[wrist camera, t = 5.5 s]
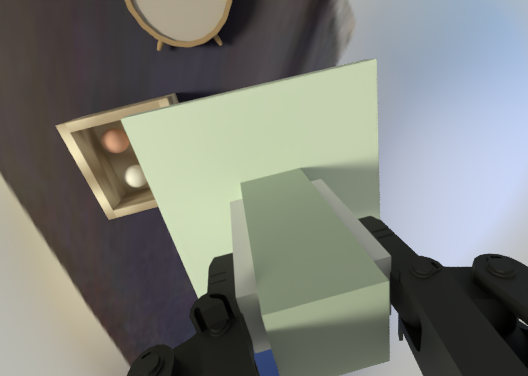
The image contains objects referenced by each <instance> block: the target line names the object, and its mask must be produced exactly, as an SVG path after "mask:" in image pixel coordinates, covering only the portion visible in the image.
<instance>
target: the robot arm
mask: <svg viewBox="0 0 528 376" xmlns="http://www.w3.org/2000/svg"><path fill="white" fill-rule="evenodd" d="M310 182H311V183H312V184H313V185H314V187H315V188H316V189H317V190H318V192H319V193H320V194H321V196H322V197H323V198H324V199H325V201H326V202H327V203H328V204H329V206H330V207H331V208H332V209H333V211H334V212H335V213H336V214H337V216H338V217H339V218H340V219H341V221H342V222H343V223H344V225H345V226H346V227H347V228H348V230H349V231H350V232H351V233H352V235H353V236H354V237H355V238H356V240H357V241H358V242H359V243H360V245H361V246H362V247H363V249H364V250H365V251H366V252H367V254H368V255H369V256H370V257H371V259H372V260H373V261H374V262H375V264H376V265H377V266H378V267H379V269H380V270H381V271H382V272H383V274H384V275H385V276H386V278H387V279H388V280H389V315H391V304H392V305H393V307H394V308H395V310H396V311H397V312H398V319H399V320H398V335H399V340H400V341H402V340H403V334H404V336H405V338H406V340H407V342H408V345H409V347H410V349H411V351H412V353H413V355H414V357H415V359H416V361H417V363H418V365H419V368H420V370H421V372H422V374H423V376H528V326H526V325H525V324H523V323H522V322H520V321H519V319H521V320H522V321H524V322H525V323H526V324H527V325H528V267H527V266H526V265H524V264H522V263H521V262H519V261H517V260H514V259H512V258H510V257H507V256H502V255H499V254H483V255H479V256H478V257H476V258H475V259H474V261H473V265H472V267H444V266H442V265H441V264H440V263H439V262H438V261H435V260H433V259H431V258H428V257H424V256H418V255H417V254H416V253H415V252H414V251H413V250H412V249H411V248H410V247H409V246H408V245H407V244H405V243H404V242H403V241H402V240H401V239H400V238H399V237H398V236H397V235H395V233H394V232H393V231H392V230H391V229H389V228H388V226H387V225H385V224H384V223H383V222H382V221H381V220H379V219H377V218H375V217H372V216H367V217H363V218H359V219H357V218H356V217H355V216H354V215H353V213H352V212H351V211H350V210H349V209H348V208H347V207H346V206H345V205H344V204H343V202H342V201H341V200H340V199H339V198H338V197H337V196H336V195H335V194H334V193H333V191H332V190H331V189H330V188H329V187H328V186H327V185H326V184H325V183H324V182H323V180H322V179H318V180H314V181H310ZM230 213H231V229H232V245H233V253H229V254H225V255H222V256H218V257H214V258H213V260H212V262H211V264H210V265H209V270H208V286H207V293H206V294H204V295H202V296H201V297H200V298H199V299H198V300H196V301H195V303H194V304H193V306H192V308H191V310H190V319H191V321H192V323H193V325H194V327H195V329H196V331H197V333H196V334H195V335H194V336H193V337H191V338H190V339H189V340H187V341H186V342H184V343H182V344H181V345H179V346H177V347H176V348H174V349H171V347H169V346H167V345H156V346H153V347H151V348H148V349H147V350H146V351H144V352H143V353H142V354H140V355H139V357H138V358H137V359H136V360H135V361H134V362H133V364H132V366H131V368H130V370H129V372H128V375H127V376H260V375H259V371H258V368H257V366H256V363H255V360H254V353H253V349H254V351H255V353H258V352H261V351H265V350H268V349H271V345H270V342H269V339H268V335H267V332H266V329H265V326H264V322H263V319H262V316H261V309H260V303H259V297H258V291H257V285H256V279H255V272H254V266H253V260H252V254H251V248H250V241H249V235H248V229H247V223H246V217H245V211H244V204H243V199H239V200H235V201H231V202H230Z"/></svg>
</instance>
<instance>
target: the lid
mask: <svg viewBox="0 0 528 376" xmlns="http://www.w3.org/2000/svg"><path fill="white" fill-rule="evenodd" d="M377 103H378V102H377V59H367V60H361V61H357V62H353V63H349V64H344V65H340V66H336V67H332V68H327V69H323V70H319V71H314V72H310V73H306V74H302V75H297V76H293V77H289V78H285V79H280V80H276V81H272V82H268V83H263V84H259V85H255V86H251V87H246V88H242V89H238V90H233V91H229V92H225V93H221V94H216V95H212V96H208V97H204V98H199V99H195V100H191V101H187V102H182V103H178V104H174V105H170V106H165V107H161V108H157V109H152V110H148V111H144V112H140V113H135V114H131V115H128V116H126V117H123V118H121V119H120V120H121V122H122V124H123V126H124V129H125V131H126V133H127V136H128V138H129V140H130V142H131V145H132V147H133V149H134V152H135V154H136V156H137V159H138V161H139V163H140V165H141V168H142V170H143V172H144V175H145V177H146V179H147V181H148V184H149V186H150V188H151V191H152V193H153V195H154V198H155V200H156V202H157V204H158V207H159V209H160V211H161V214H162V216H163V218H164V220H165V223H166V225H167V227H168V230H169V232H170V234H171V237H172V239H173V241H174V243H175V246H176V248H177V250H178V253H179V255H180V257H181V260H182V262H183V264H184V266H185V269H186V271H187V273H188V276H189V278H190V280H191V282H192V285H193V287H194V289H195V292H196V294H197V296H198V299H199V298H200V297H201V296H202V295H204V294H206V293H207V286H208V270H209V265H210V264H211V262H212V260H213V258H214V257H218V256H222V255H225V254H229V253H233V245H232V229H231V213H230V202H231V201H235V200H239V199H243V204H244V211H245V217H246V223H247V229H248V235H249V241H250V248H251V254H252V260H253V266H254V272H255V279H256V285H257V291H258V297H259V303H260V309H261V316H262V319H263V322H264V326H265V329H266V332H267V335H268V339H269V342H270V345H271V349H272V352H273V355H274V358H275V362H276V365H277V368H278V371H279V375H280V376H339V375H342V374H346V373H349V372H353V371H356V370H360V369H363V368H366V367H370V366H373V365H377V364H380V363H384V362H387V361H389V360H390V359H389V358H390V355H389V354H390V350H389V348H390V346H389V280H388V279H387V278H386V276H385V275H384V274H383V272H382V271H381V270H380V269H379V267H378V266H377V265H376V264H375V262H374V261H373V260H372V259H371V257H370V256H369V255H368V254H367V252H366V251H365V250H364V249H363V247H362V246H361V245H360V243H359V242H358V241H357V240H356V238H355V237H354V236H353V235H352V233H351V232H350V231H349V230H348V228H347V227H346V226H345V225H344V223H343V222H342V221H341V219H340V218H339V217H338V216H337V214H336V213H335V212H334V211H333V209H332V208H331V207H330V206H329V204H328V203H327V202H326V201H325V199H324V198H323V197H322V196H321V194H320V193H319V192H318V190H317V189H316V188H315V187H314V185H313V184H312V183H311V182H310V181H314V180H318V179H322V180H323V182H324V183H325V184H326V185H327V186H328V187H329V188H330V189H331V190H332V191H333V193H334V194H335V195H336V196H337V197H338V198H339V199H340V200H341V201H342V202H343V204H344V205H345V206H346V207H347V208H348V209H349V210H350V211H351V212H352V213H353V215H354V216H355V217H356V218H357V219H359V218H363V217H367V216H372V217H375V218H377V219H379V220H380V194H379V193H380V192H379V150H378V149H379V147H378V104H377Z"/></svg>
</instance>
